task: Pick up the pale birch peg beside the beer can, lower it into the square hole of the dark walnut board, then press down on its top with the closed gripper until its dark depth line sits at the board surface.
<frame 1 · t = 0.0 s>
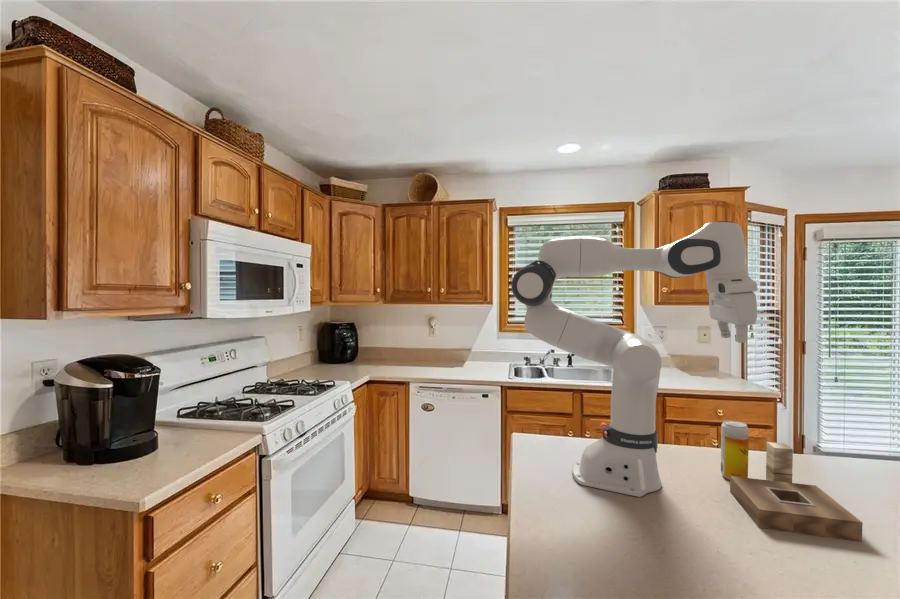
hand: (733, 339, 102), 39 cm above the countertop, tool pointing down, fingers open, 8 cm apart
walnut board: (788, 513, 93), on the countertop
birch peg: (778, 487, 105), on the countertop
beer can: (734, 478, 110), on the countertop
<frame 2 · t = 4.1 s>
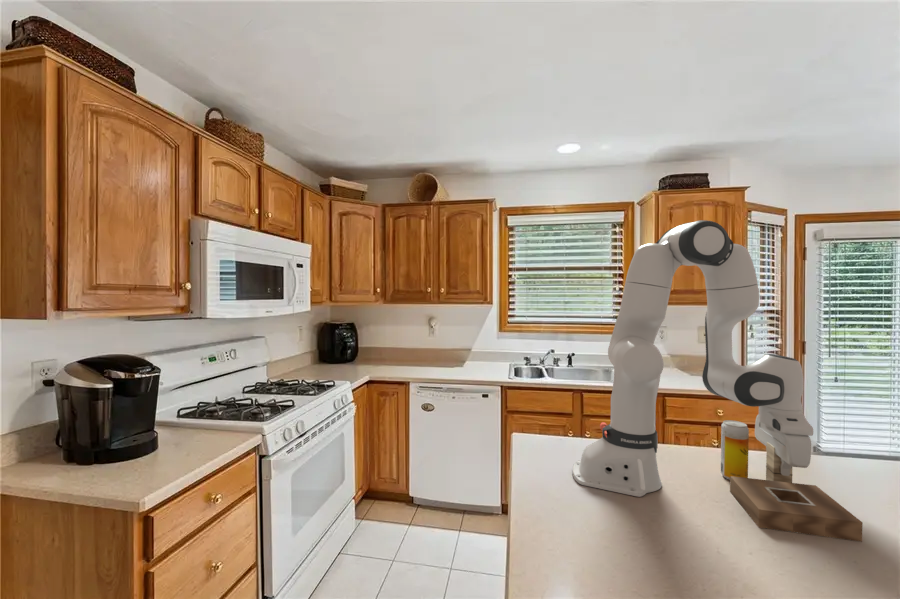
hand: (778, 469, 105), 5 cm above the countertop, tool pointing down, fingers closed on birch peg, 4 cm apart
birch peg: (778, 487, 105), on the countertop, touching gripper
everything else where it was.
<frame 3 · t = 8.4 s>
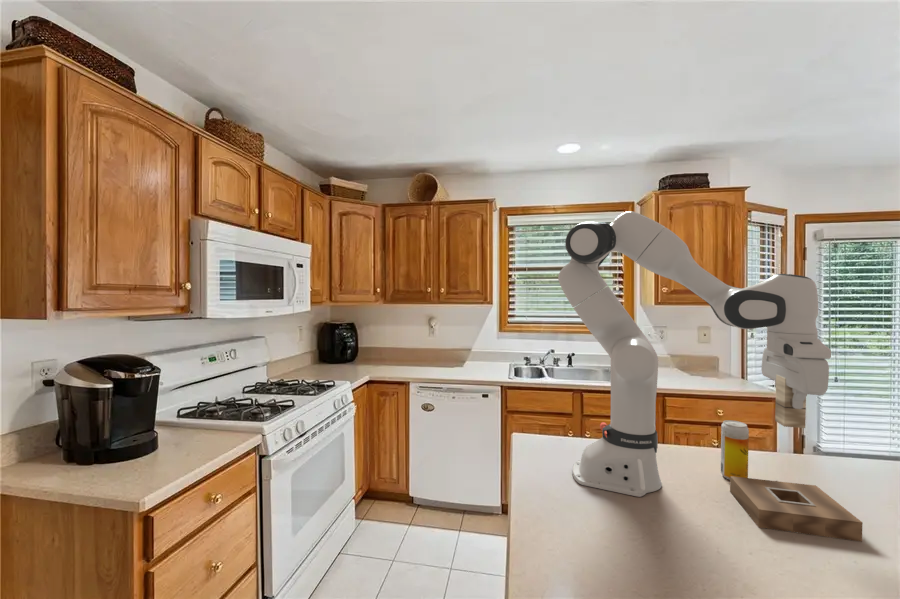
hand: (789, 404, 93), 25 cm above the countertop, tool pointing down, fingers closed on birch peg, 4 cm apart
birch peg: (789, 424, 93), point 20 cm above the countertop, touching gripper
everything else where it was.
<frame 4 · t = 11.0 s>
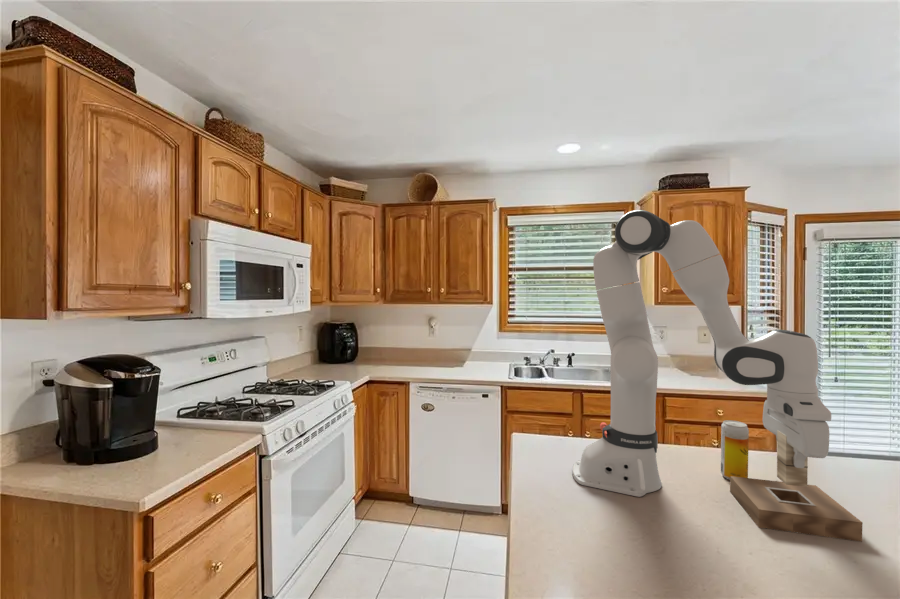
hand: (791, 461, 92), 12 cm above the countertop, tool pointing down, fingers closed on birch peg, 4 cm apart
birch peg: (791, 481, 92), point 8 cm above the countertop, touching gripper
everything else where it was.
when the fingers open (6 cm above the countertop, at t = 13.0 s): birch peg drops 1 cm, resting in walnut board.
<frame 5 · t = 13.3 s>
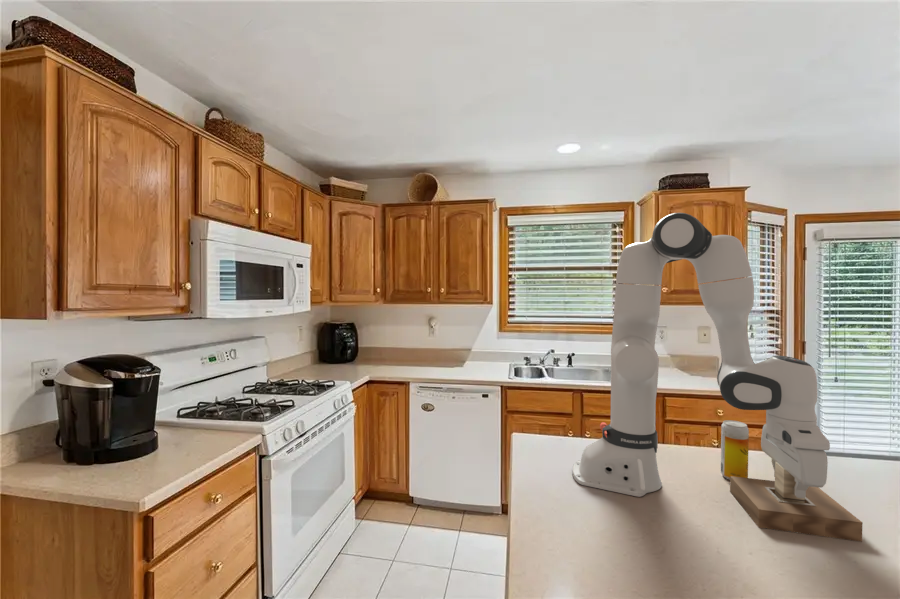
hand: (789, 487, 92), 6 cm above the countertop, tool pointing down, fingers open, 7 cm apart
birch peg: (788, 514, 93), resting in walnut board
everything else where it was.
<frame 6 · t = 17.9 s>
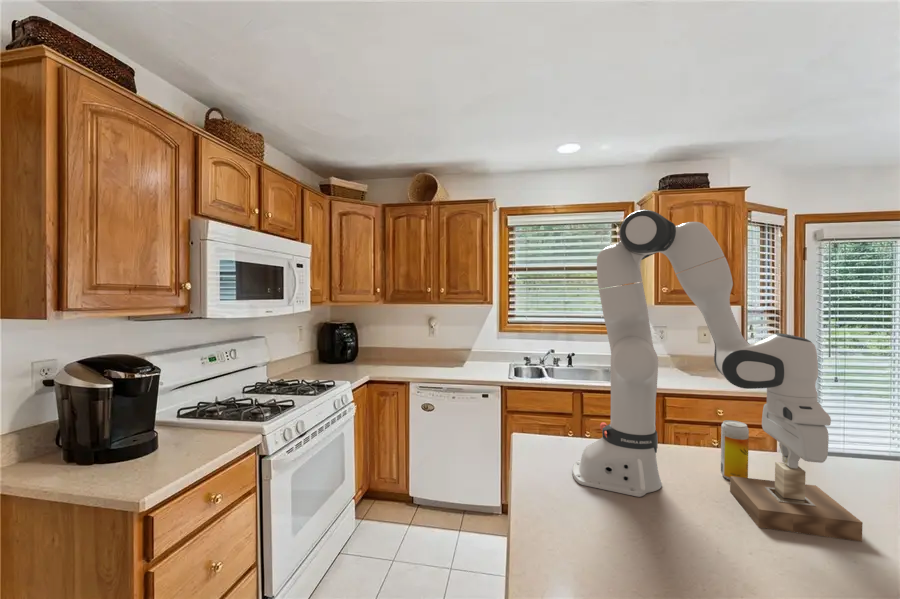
hand: (790, 465, 92), 11 cm above the countertop, tool pointing down, fingers closed
nothing on the countertop moved.
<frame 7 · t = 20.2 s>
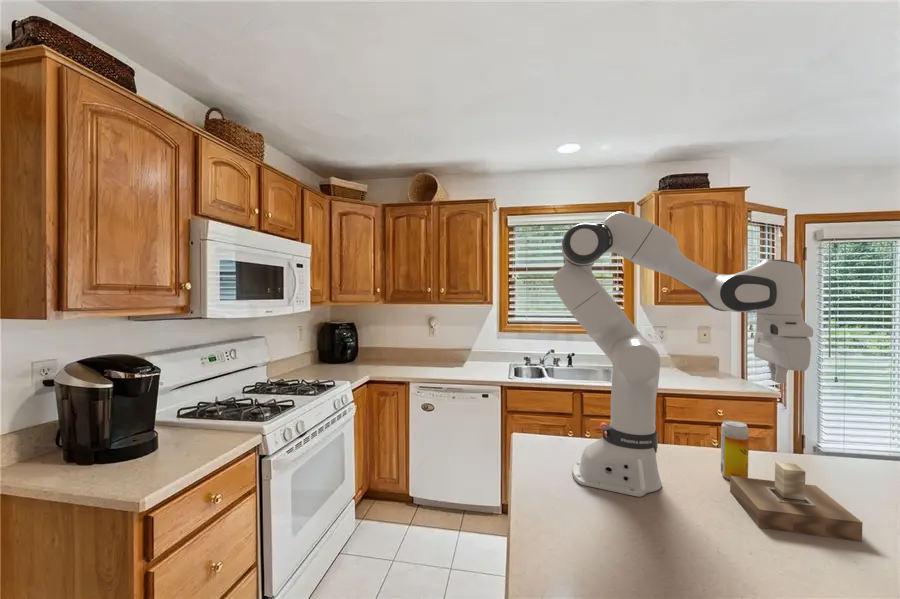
hand: (777, 381, 99), 29 cm above the countertop, tool pointing down, fingers closed
nothing on the countertop moved.
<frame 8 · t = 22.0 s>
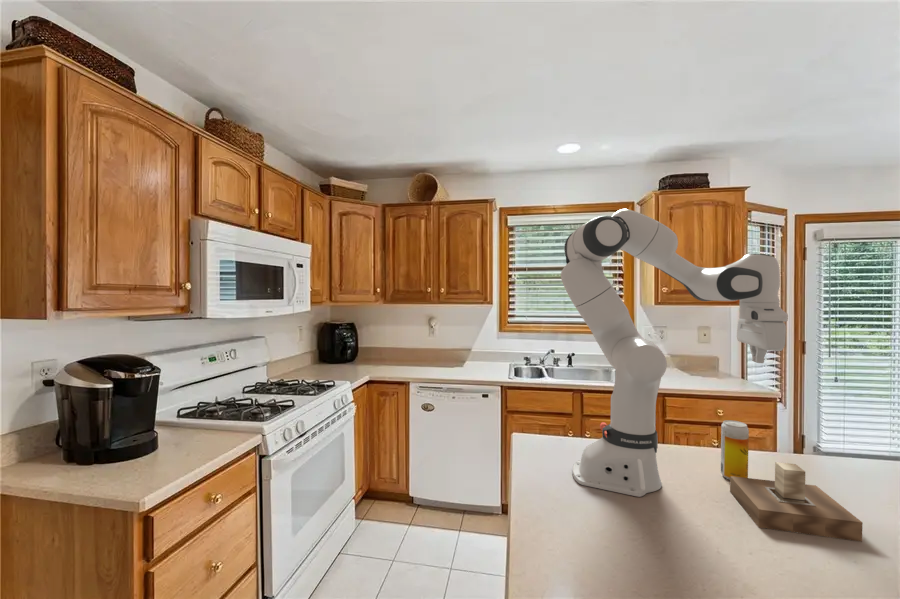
hand: (758, 362, 112), 31 cm above the countertop, tool pointing down, fingers closed
nothing on the countertop moved.
at the end: birch peg 0.1 cm from the walnut board (horizontally); birch peg resting in walnut board; birch peg tilted 0° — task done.
